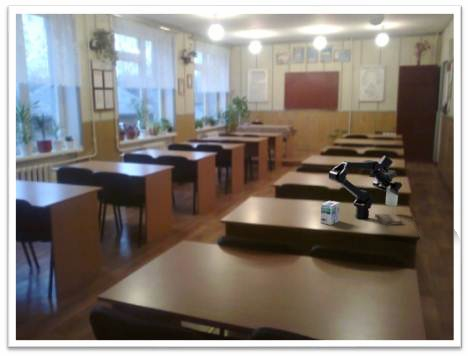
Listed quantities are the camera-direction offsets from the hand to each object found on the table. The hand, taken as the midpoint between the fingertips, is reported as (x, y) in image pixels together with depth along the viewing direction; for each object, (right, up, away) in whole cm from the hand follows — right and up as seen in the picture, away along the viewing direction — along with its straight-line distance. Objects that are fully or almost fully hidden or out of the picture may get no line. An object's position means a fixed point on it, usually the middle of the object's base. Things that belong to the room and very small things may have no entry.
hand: (393, 193), depth 257 cm
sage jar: (-1, -7, +1) cm, 7 cm away
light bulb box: (-41, -16, -15) cm, 47 cm away
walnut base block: (-8, -15, -13) cm, 21 cm away
